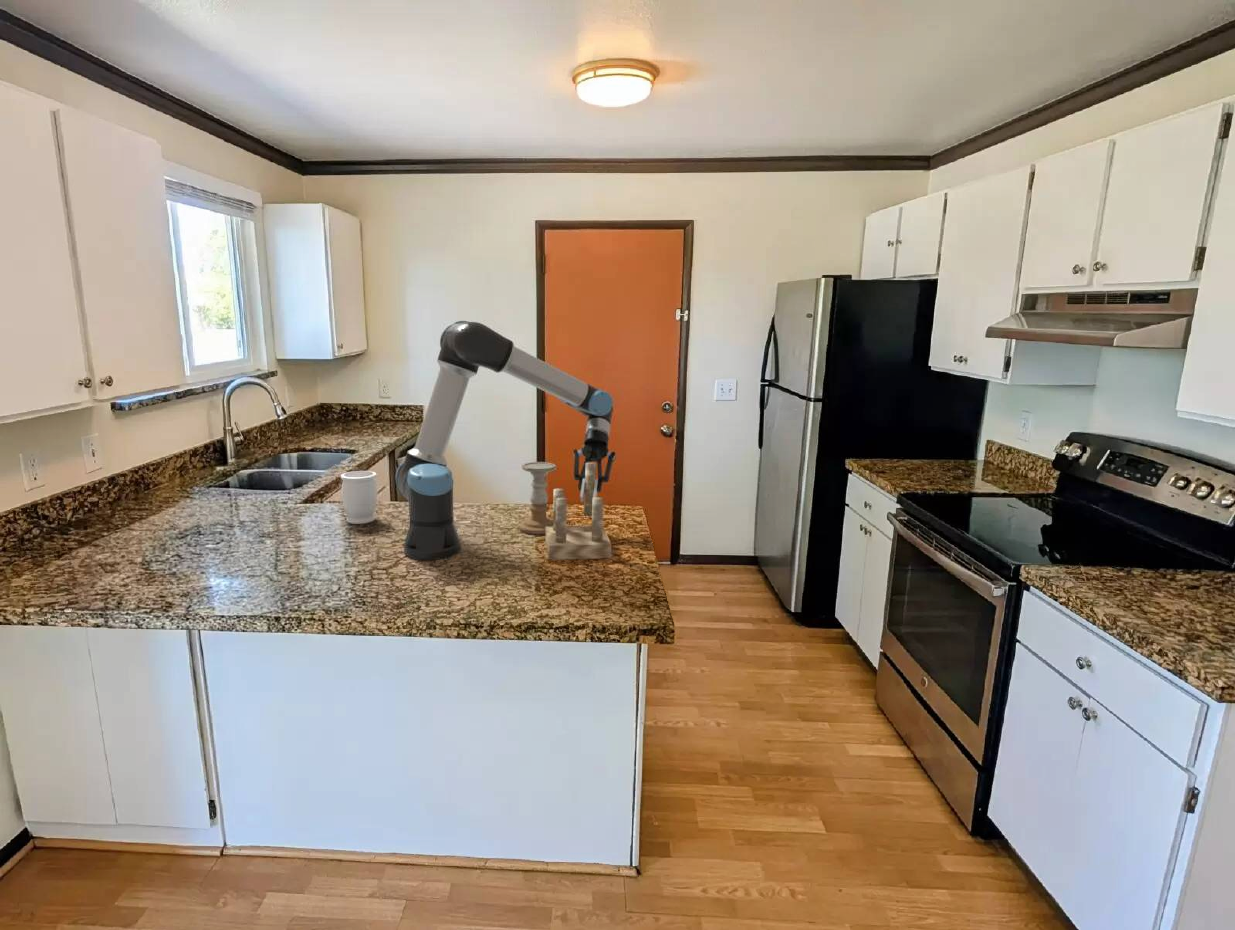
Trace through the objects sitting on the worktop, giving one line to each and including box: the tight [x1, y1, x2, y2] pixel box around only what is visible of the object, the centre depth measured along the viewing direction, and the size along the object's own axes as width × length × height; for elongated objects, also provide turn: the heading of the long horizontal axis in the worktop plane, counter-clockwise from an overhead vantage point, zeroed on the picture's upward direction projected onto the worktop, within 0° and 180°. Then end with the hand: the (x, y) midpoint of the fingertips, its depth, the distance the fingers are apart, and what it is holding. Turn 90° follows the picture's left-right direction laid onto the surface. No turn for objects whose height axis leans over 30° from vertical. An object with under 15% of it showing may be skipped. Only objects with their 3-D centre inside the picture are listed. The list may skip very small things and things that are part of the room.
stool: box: [544, 488, 612, 561], centre depth 188 cm, size 17×17×16 cm
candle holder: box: [518, 461, 557, 535], centre depth 204 cm, size 12×12×20 cm
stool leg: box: [583, 461, 597, 517], centre depth 201 cm, size 3×3×16 cm
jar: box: [340, 470, 378, 525], centre depth 207 cm, size 11×10×15 cm
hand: (588, 499), depth 198 cm, fingers closed on stool leg, 3 cm apart
